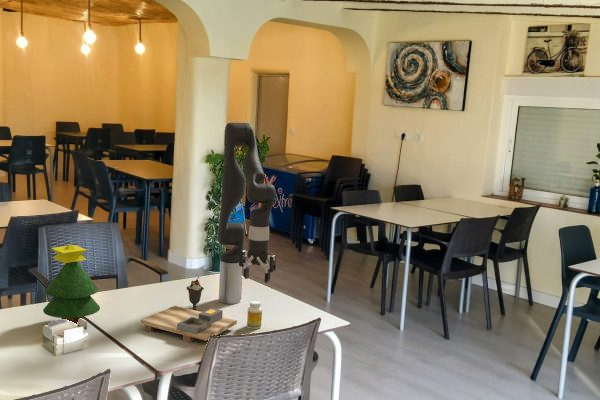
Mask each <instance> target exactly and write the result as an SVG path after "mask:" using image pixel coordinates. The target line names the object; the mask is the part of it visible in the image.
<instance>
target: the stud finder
mask: <svg viewBox="0 0 600 400" xmlns="http://www.w3.org/2000/svg"><path fill="white" fill-rule="evenodd" d="M200 312H201V313H199V319H204V320H208V321H211V324H212V323H214V322H216V321H218V320H220V319H222V317H223V309H219V308H214V307H210V308H209V309H206V310H203V311H200Z"/></svg>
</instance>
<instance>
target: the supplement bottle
mask: <svg viewBox="0 0 600 400" xmlns="http://www.w3.org/2000/svg"><path fill="white" fill-rule="evenodd" d="M261 304H262V303H261V301H260V300H259V301H258V300H251V301H250V302H249V307H248V308H247V317H246V320H247V321H246V327H247V328H248V329H251V330H259V329H260V328H261V327H262V319H263V318H262V317H263V315H262V314H263V309H262V308H263V307H261Z"/></svg>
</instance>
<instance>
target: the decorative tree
mask: <svg viewBox="0 0 600 400" xmlns="http://www.w3.org/2000/svg"><path fill="white" fill-rule="evenodd" d="M51 250H52V251H54V252H55V253H56V254H55V256H54V257H52V259H53V260H56V261H59V262H60V263H62V264H64V265H63V266H62V267H61V269H60V270H59V272H58V273H57V274H56V275H55V277H54V278H53V280H51V282H50V283H49V285H48V286H47V287H46V288H45V290H44V294H45V295H47V296H49V297H51V299H50V301H48V303H47V304H46V305H45V307H44V308H43V310H42V311H43V314H45V315H46V316H49V317H53V318H59V319H67V320H69V321H72V322H74V323H76V324H77V322H78V319H79V318H82V319H83V320H84V318H83V317H88V316H91V315H94V314H96V313H98V312H99V311H100V310H101V306H100V305H99V304H98V302H97V301H96V300H95V299H94V298H93V297H92V295H95V294H97V293H98V292H99V288H98V286H97V284H96V283H94V281H93V280H92V278H91V277H90V276H89V275H88V273H87V272H86V271H85V270H84V268H83V267H82V266H81V264H80V263H79V262H81V261H87V260H88V259H87V258H86V257H84V256H83V254H84V253H85V252H87V250H88V249H86V248H83V247H81V246H79V245H76V244H74V245H73V244H71V243H70V244H68V245H63V246H62V245H61V246H57V247H51Z"/></svg>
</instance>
